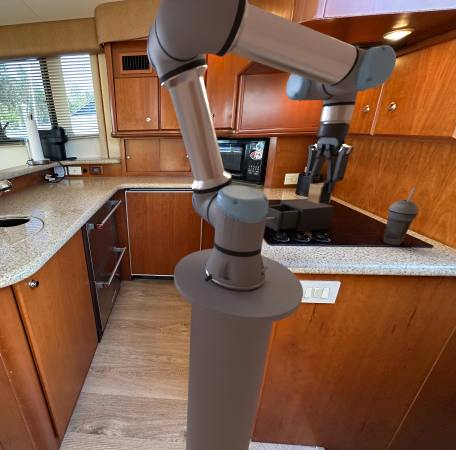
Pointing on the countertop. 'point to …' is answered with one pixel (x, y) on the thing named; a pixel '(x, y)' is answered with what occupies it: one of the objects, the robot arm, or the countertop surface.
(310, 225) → the dark brown box
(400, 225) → the beverage cup
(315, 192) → the block
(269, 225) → the basket
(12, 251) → the countertop surface
